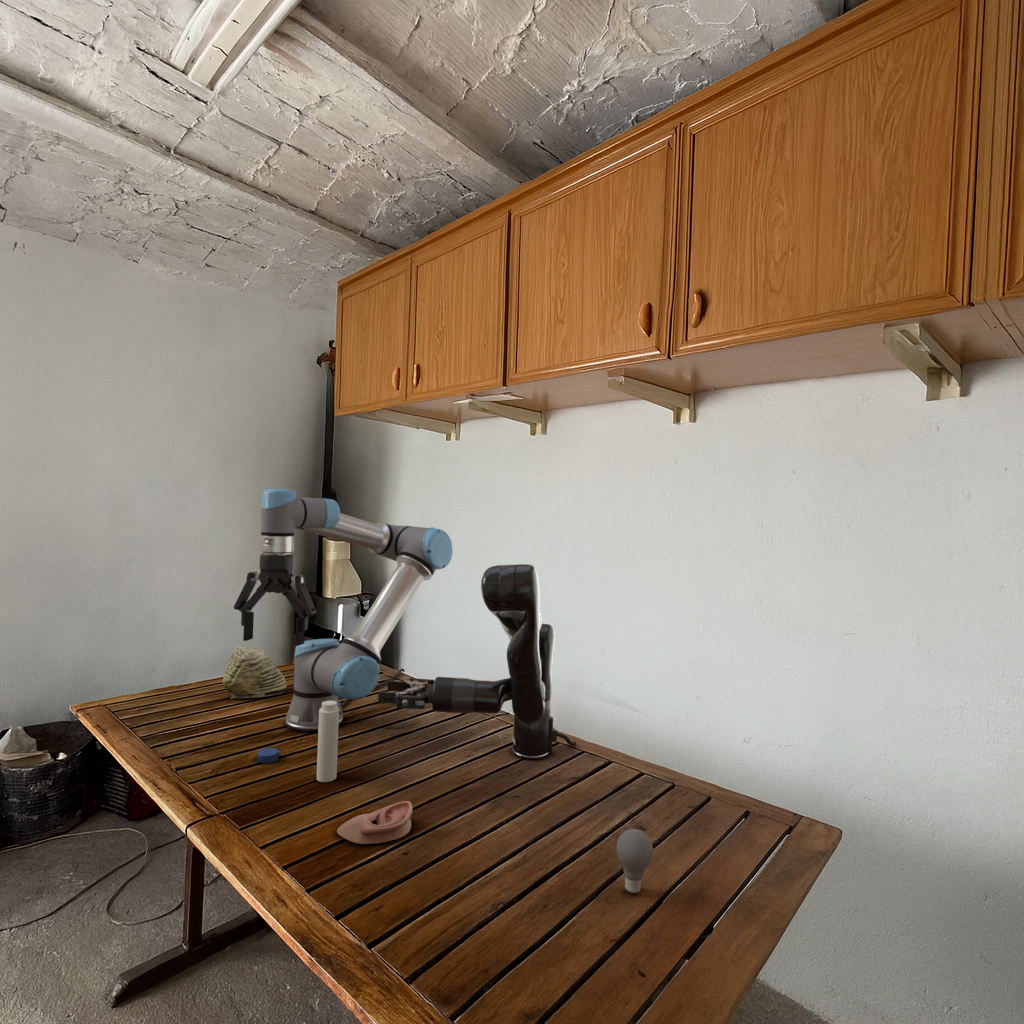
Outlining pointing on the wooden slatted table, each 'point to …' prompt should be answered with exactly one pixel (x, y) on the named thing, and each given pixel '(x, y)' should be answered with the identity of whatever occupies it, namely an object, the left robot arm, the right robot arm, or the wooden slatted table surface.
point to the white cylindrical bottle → (327, 741)
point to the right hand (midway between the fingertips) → (383, 691)
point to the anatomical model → (379, 825)
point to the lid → (268, 755)
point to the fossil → (252, 674)
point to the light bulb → (634, 857)
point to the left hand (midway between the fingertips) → (273, 642)
